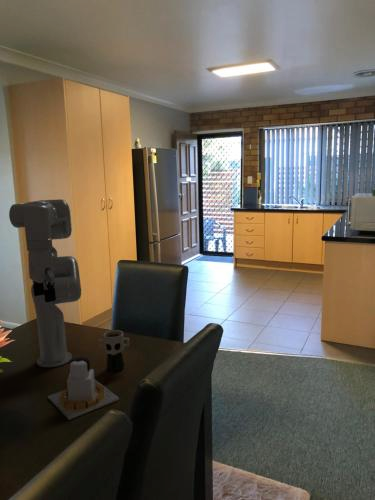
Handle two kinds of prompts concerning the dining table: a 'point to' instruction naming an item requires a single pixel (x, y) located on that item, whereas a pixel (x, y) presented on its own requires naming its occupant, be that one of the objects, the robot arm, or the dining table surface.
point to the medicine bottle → (80, 381)
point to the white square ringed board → (79, 408)
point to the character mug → (114, 348)
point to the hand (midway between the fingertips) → (44, 298)
